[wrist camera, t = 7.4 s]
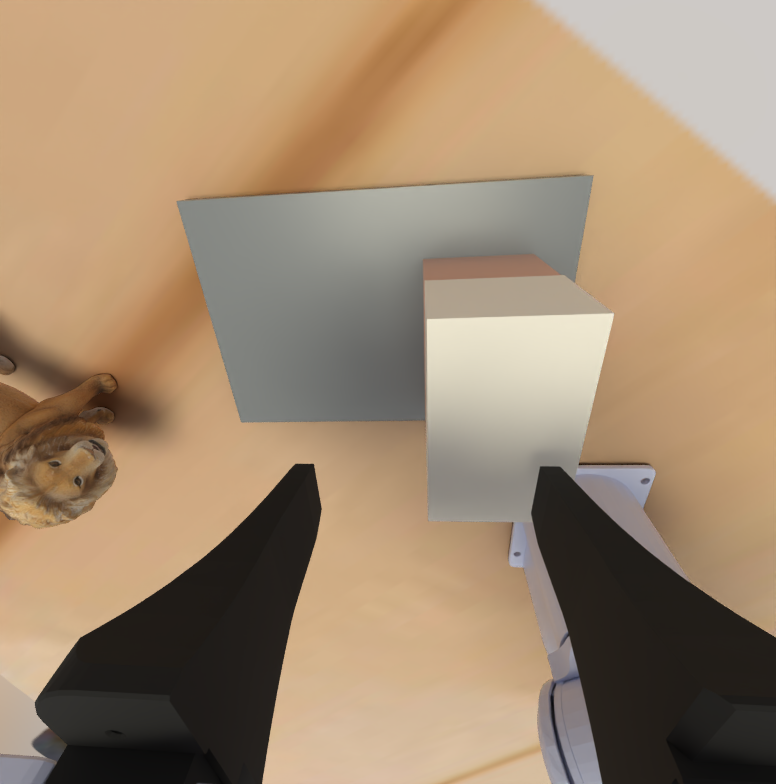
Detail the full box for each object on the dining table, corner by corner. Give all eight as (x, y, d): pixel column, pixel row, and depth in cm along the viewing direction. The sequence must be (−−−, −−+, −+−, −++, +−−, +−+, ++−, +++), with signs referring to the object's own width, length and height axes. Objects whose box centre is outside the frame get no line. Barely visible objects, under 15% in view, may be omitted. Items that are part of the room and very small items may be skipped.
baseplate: (545, 409, 23) (550, 418, 22) (247, 413, 25) (241, 422, 24) (584, 174, 17) (593, 175, 16) (187, 199, 19) (176, 201, 18)
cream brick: (535, 451, 18) (564, 522, 15) (426, 451, 19) (428, 520, 15) (564, 274, 14) (614, 313, 11) (424, 280, 15) (426, 319, 11)
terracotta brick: (515, 404, 22) (535, 452, 18) (424, 405, 22) (426, 452, 19) (533, 253, 18) (563, 276, 14) (422, 258, 18) (424, 282, 15)
